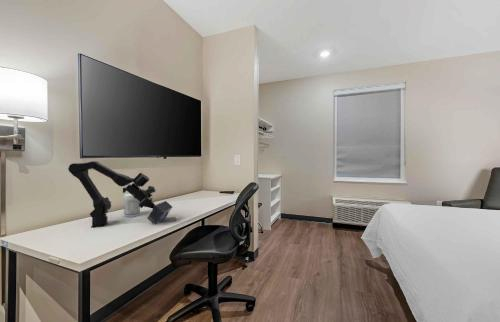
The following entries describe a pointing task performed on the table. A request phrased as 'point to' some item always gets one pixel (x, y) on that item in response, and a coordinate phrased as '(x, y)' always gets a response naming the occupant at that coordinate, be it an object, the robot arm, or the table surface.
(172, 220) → the pad
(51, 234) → the table surface
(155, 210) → the small box
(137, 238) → the table surface
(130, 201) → the supplement tub
